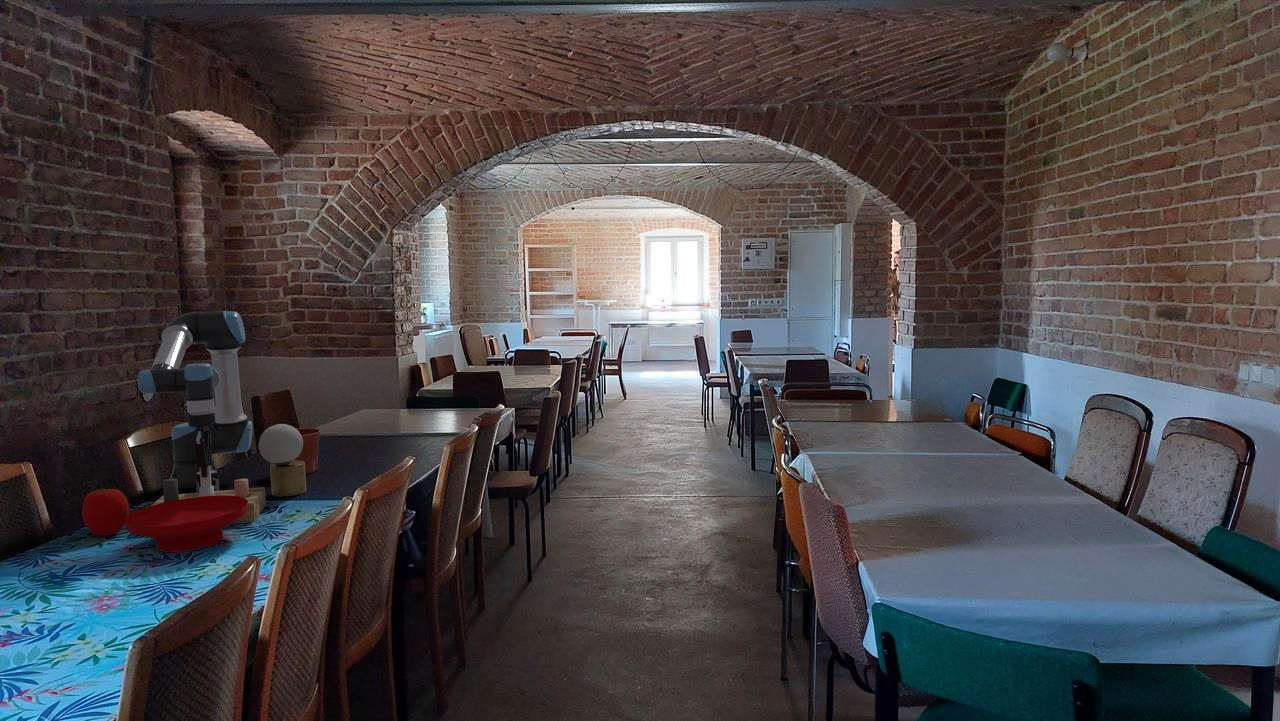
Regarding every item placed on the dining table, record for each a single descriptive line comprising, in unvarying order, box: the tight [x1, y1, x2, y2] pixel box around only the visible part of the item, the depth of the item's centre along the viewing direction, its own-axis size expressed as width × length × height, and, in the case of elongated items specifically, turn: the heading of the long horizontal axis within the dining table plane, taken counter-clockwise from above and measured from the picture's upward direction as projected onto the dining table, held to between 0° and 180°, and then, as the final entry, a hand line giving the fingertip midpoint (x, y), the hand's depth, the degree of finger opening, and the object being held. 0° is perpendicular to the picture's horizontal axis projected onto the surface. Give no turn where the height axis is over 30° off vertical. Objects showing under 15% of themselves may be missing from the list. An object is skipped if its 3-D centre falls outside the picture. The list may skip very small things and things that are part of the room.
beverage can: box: [195, 469, 220, 493], centre depth 257 cm, size 7×7×12 cm
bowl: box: [124, 495, 249, 553], centre depth 220 cm, size 30×30×10 cm
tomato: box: [81, 487, 130, 537], centre depth 230 cm, size 13×11×14 cm
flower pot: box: [294, 427, 322, 475], centre depth 305 cm, size 16×16×16 cm
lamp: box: [258, 423, 307, 498], centre depth 271 cm, size 15×14×25 cm
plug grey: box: [199, 486, 214, 497], centre depth 245 cm, size 4×4×9 cm
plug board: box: [150, 486, 267, 525], centre depth 245 cm, size 20×30×6 cm, turn 107°
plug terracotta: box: [233, 478, 249, 498], centre depth 247 cm, size 4×4×9 cm
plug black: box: [162, 478, 179, 502], centre depth 241 cm, size 4×4×9 cm
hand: (206, 486), depth 244 cm, fingers closed
